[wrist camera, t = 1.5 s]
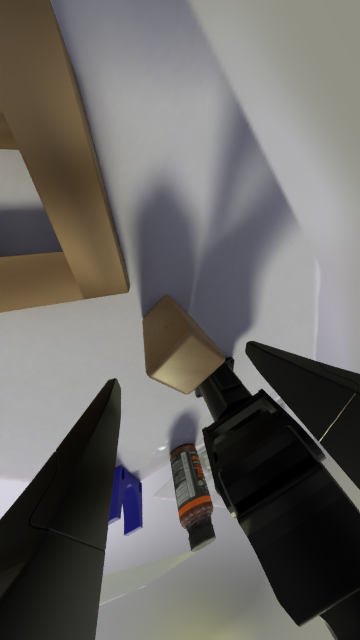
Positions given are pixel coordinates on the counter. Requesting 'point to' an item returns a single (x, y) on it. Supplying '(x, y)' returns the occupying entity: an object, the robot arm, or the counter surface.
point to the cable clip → (126, 500)
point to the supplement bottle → (192, 496)
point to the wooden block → (177, 348)
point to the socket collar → (53, 166)
